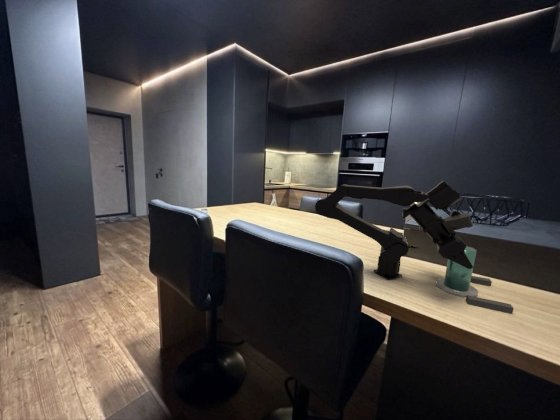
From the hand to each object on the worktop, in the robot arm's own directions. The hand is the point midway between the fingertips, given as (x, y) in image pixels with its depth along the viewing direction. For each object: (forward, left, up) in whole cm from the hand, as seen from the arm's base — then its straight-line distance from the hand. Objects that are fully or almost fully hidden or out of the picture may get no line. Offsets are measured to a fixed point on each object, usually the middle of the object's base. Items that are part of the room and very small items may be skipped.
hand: (466, 261), depth 68 cm
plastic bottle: (+18, +33, -9) cm, 39 cm away
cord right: (-3, -8, -9) cm, 12 cm away
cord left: (+8, +2, -9) cm, 12 cm away
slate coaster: (-1, +1, -9) cm, 9 cm away
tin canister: (-1, +1, -8) cm, 8 cm away
